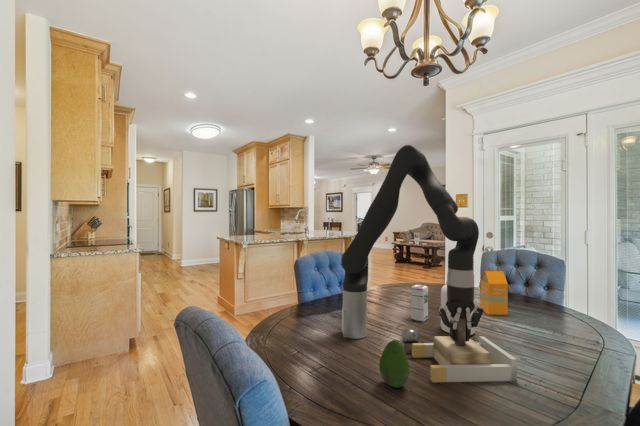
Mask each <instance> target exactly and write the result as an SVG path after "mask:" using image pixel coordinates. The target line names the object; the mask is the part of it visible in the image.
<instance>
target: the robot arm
mask: <svg viewBox="0 0 640 426" xmlns="http://www.w3.org/2000/svg"><path fill="white" fill-rule="evenodd" d="M407 175H408V176H409V177H411V178H412V179H413V180H414V181H415V182H416V184H418V185H419V187H420V188H421V191H422V193H423V196H424V198H425V200H426V202H427V203H428V206H430V209H431V210H432V212H433V213H434V214H435V215H436V217H437V221H438V224H439V228H440V231H441V232H442V234H443V235H444V237H445V238H446V239H448V240H450V241H452V242H456V244H455V247H454V248H452V249H450V250H448V253H447V271H446V272H447V274H446V281H447V302H446V305H445V306H443V307H441V306H438V307H437V308H436V309H437V311H438V314H439V316H440V320H441V319H442V321H443V324H444V325H446V326H447V327H448V328H450V333H449V336H450V338H451V339H452V340H453V341H454V342H457V329H456V328H457V323H458V322H459V318H461V317H462V318H466V341H469V339H470V338H471V336H472V335H471V328H472V327H475V328H477V327H478V325H479V323H480V320H481V318H482V315H483V313H484V312H483V311H484V310H483V309H482V308H481V306H477V305H476V303H475V304H474V302H473V300H474V293H475V274H474V255H475V251H476V248H477V244H478V240H479V237H480V234H479V233H480V230H479V226H478V224H477V222H476V220H474V219H473V218H470V217H458V216H457V212H458V210H459V206H458V204H457V203H456V201H455V200H454V199H453V197H452V196H451V195H450V193H449V192H448V190H446V188H445V187H444V186H443V184H442V183H441V182H440V181H439V180H438V179H437V177H436V175H435V174H434V172H433V170H432V168H431V165H430V164H429V161H428V160H427V157H426V155H425V153H424V154H423V152H422V151H421V150H419V149H418V148H416V146H414V145H412V144H406V145H404V146H402V147H400V148H399V149H398V150H397V152H396V154H395V155H394V157H393V160H392V161H391V164H390V166H389V169H388V171H387V173H386V175H385V178H384V180H383V182H382V183H381V186H380V187H379V190H378V192H377V193H376V195H375V196H374V198H373V200H372V201H371V204H370V206H369V208H368V209H367V212H366V214H365V216H364V218H363V219H362V222H361V224H360V226H359V228H358V231H357V233H356V234H355V236H354V238H353V239H352V241H351V242H350V244H349V245H348V247H347V248H346V249H345V251H344V253H342V256H341V266H342V268H343V269H344V278H343V282H342V308H341V334H342V336H343V338H348V339H352V340H353V339H354V340H359V339H363V338H366V337H367V332H368V329H367V325H368V324H367V322H368V314H367V313H368V281H369V255H370V253H371V250H373V249H372V248H373V247H374V245H375V243H376V242H377V240H378V239H379V238H380V237H381V235H383V233H384V231H386V229H387V227H388V226H389V224H390V223H391V222H392V219H393V218H394V216H395V214H396V213H397V210H398V207H399V201H400V193H401V189H402V188H401V187H402V186H403V185H402V184H403V182H404V181H405V178H406V177H407ZM447 309H448V310H449V312H450V317H449V318H450V322H449V319H448V317H447V315H446V314H447ZM472 311H473V314H472V316H470V314H471V312H472ZM471 339H472V338H471Z"/></svg>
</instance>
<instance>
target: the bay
mask: <svg viewBox="0 0 640 426" xmlns="http://www.w3.org/2000/svg"><path fill="white" fill-rule="evenodd" d="M476 343H477V344H479V345H480V346H481V347H483V348H484V349H485V350H487V351H488V352H489V353H490V364H472V365H440V364H433V365H432V364H429V368H430V369H429V373H430V374H429V379H430V381H431V383H466V382H467V383H469V382H470V383H472V382H477V383H478V382H480V383H481V382H517V379H518V374H517V372H518V368H517V367H518V364H517V363H518V362H517V360H518V359H517V358H516V357H514V356H513V355H511V354H510V353H508V352H507V351H505V350H504V349H503V348H501V347H500V346H499V345H497V344H495V343H494V342H493V341H491V340H489V339H488V338H487V337H485V336H480V335H479V336H478V342H476ZM433 348H434V342H423V343H422V342H421V343H412V353H411V356H412V358H422V359H423V358H427V359H428V358H434V357H433Z"/></svg>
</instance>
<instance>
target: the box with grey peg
mask: <svg viewBox="0 0 640 426" xmlns="http://www.w3.org/2000/svg"><path fill="white" fill-rule="evenodd" d="M456 329H457V342H454V341H453V340H452V339H451V338H450V335H447V336H445V335H442V336H441V335H440V336H438V335H437V336H436V335H435V336H433V343H434V348H433V357H432V358H433V359H434V360H435V362H437V364H438V365H472V364H490V353H489V352H488V351H487V350H485V349H484V348H483V347H481V346H480V345H479V344H477V343H478V342H476V341H474V340H473V339H472V338H470V339H469V341H466V318H462V317H461V318H459V322H458V323H457V328H456Z"/></svg>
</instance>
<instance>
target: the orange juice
mask: <svg viewBox="0 0 640 426" xmlns="http://www.w3.org/2000/svg"><path fill="white" fill-rule="evenodd" d="M508 288H509V283H508V281H507V278H506V275H505V273H504V270H498V269H497V270H492V269H491V270H489V269H486V270H484V272H483V275H482V277H481V280H480V308H482V309H483V310H484V311H483V313H485V314H487V315H488V316H489V315H491V316H508V314H509V313H508V310H509V309H508V307H509V305H508V302H509V294H508V293H509V292H508V290H509V289H508Z"/></svg>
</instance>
